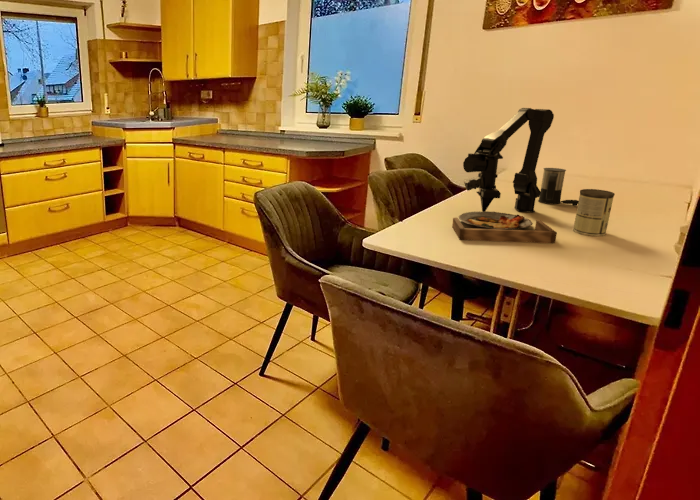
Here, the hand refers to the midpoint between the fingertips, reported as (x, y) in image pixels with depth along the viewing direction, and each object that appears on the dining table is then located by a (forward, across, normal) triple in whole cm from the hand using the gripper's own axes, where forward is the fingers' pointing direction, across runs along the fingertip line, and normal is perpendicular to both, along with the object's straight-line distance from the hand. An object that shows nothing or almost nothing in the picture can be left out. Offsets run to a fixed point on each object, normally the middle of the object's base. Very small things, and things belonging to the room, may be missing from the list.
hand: (483, 211), depth 172 cm
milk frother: (+2, -26, +38) cm, 46 cm away
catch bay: (+1, +26, 0) cm, 26 cm away
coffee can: (+2, +18, +32) cm, 37 cm away
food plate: (+2, +13, +1) cm, 13 cm away
